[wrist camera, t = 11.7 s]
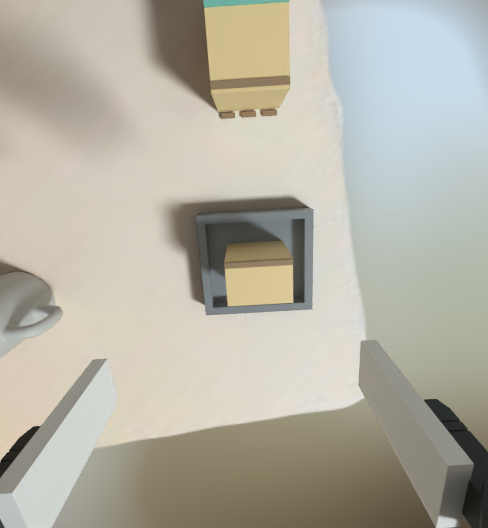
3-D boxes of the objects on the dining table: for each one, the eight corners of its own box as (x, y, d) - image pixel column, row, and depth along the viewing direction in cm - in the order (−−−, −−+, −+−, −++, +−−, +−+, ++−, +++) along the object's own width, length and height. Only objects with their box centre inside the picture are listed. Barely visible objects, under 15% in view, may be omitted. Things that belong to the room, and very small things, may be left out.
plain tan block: (227, 243, 37) (224, 262, 30) (282, 240, 37) (293, 258, 30) (230, 280, 39) (227, 307, 31) (283, 277, 39) (293, 303, 31)
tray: (198, 213, 37) (195, 216, 35) (308, 207, 37) (313, 209, 35) (208, 306, 41) (206, 315, 39) (308, 301, 41) (312, 309, 38)
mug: (1, 327, 42) (-79, 379, 31) (-14, 270, 39) (-108, 306, 29) (85, 327, 42) (33, 378, 31) (75, 270, 39) (15, 306, 29)
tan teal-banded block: (210, 6, 31) (199, -51, 23) (276, 1, 31) (288, -58, 23) (218, 118, 34) (211, 102, 26) (279, 114, 34) (290, 97, 26)
